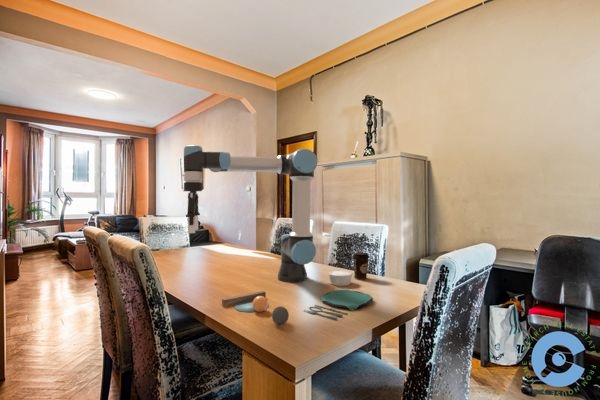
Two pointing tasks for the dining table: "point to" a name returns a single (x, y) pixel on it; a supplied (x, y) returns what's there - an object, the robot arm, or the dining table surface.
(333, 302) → the cutlery set
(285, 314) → the gray ball
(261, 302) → the orange ball
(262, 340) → the dining table surface
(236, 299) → the stopper strip
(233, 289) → the dining table surface
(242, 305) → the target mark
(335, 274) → the ramekin
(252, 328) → the dining table surface
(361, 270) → the coffee cup
